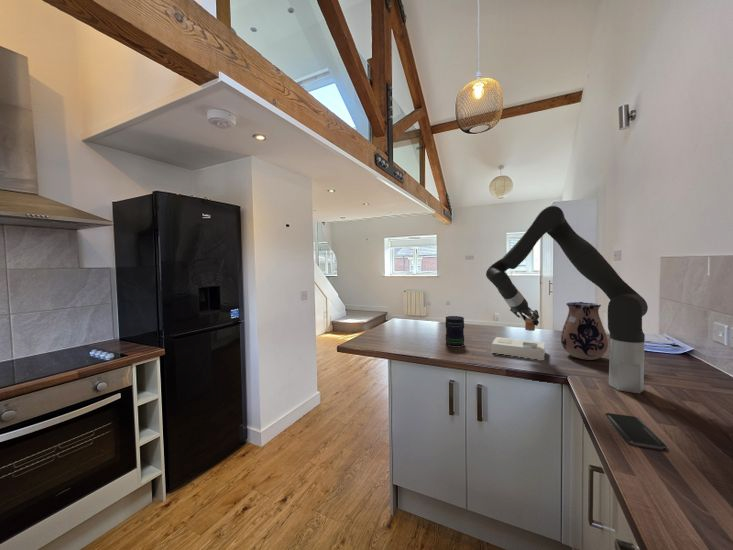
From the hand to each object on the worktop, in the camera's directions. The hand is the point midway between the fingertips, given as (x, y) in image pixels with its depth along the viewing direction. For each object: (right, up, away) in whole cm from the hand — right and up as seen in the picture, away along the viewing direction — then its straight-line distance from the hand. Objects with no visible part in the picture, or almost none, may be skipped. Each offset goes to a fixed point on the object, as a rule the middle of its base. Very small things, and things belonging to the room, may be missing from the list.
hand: (532, 323), depth 142 cm
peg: (-2, -3, -1) cm, 4 cm away
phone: (-9, -19, -64) cm, 67 cm away
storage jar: (-32, -15, +19) cm, 40 cm away
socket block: (-6, -15, +2) cm, 16 cm away
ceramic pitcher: (+21, -15, -4) cm, 26 cm away
